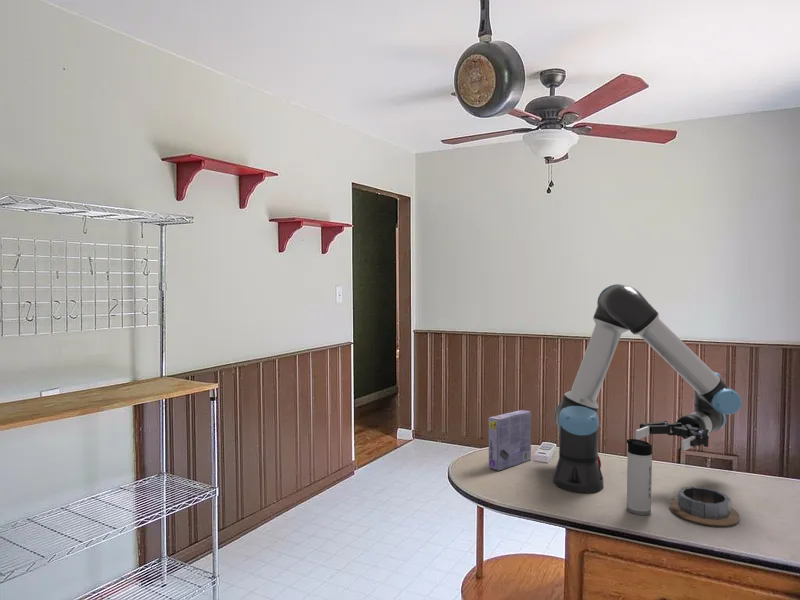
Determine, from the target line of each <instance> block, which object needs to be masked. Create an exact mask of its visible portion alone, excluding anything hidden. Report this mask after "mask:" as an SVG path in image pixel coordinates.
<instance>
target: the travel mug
mask: <svg viewBox="0 0 800 600" xmlns="http://www.w3.org/2000/svg"><path fill="white" fill-rule="evenodd" d="M626 444H627V469H626V470H627V472H626V476H627V477H626V510H627V511H628V512H629V513H632V514H634V515H637V516H647V515H650V514H651V513H652V483H653V482H652V481H653V480H652V477H653V475H652V474H653V473H652V472H653V451H652V450H653V446H652V444H651V443H649V442H648V441H645V440H641V439H639V440H637V439H636V438H630V439H626Z"/></svg>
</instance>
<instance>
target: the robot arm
mask: <svg viewBox="0 0 800 600" xmlns="http://www.w3.org/2000/svg"><path fill="white" fill-rule="evenodd" d="M596 305H597V307H596V309H595V311H594V315H593V316H592V320H593V322H594V323H595V326H594V328H593V331H592V334H591V336H590V339H589V341H588V344H587V347H586V350H585V352H584V355H583V358H582V360H581V363H580V366H579V368H578V370H577V373H576V375H575V379H574V381H573V384H572V387H571V390H569V391H566V392H565V393H564V395H563V397H562V400H561V402H560V404H558V405H557V407H556V409H555V411H554V423H555V426H556V428H557V430H558V433H559V434H558V435H559V436H558V438H559V439H558V441H559V448H558V450H559V451H558V461H557V463H556V465H555V470H554V472H553V475H552V477H553V479H552V483H553V484H554V485H555V486H557V487H558V488H560V489H561V490H565V491H569V492H574V493H581V494H582V493H583V494H586V493H589V494H590V493H596V492H600V491H601V490H603V488H604V477H603V474H602V471H601V468H600V467H599V464H598V456H599V428H600V427H599V426H600V421H599V415H598V413H597V412H598V411H599V410H598V409H599V404H598V402H597V399H598V396H599V394H600V391H601V388H602V386H603V384H604V380H605V378H606V376H607V373H608V370H609V368H610V365H611V364H612V360H613V357H614V355H615V352H616V349H617V348H618V344H619V342H620V340H621V337H622V335H623V333H626V332H628V331H630V332H631V333H632V335H638V336H639V337H640V338H642V340H644V342H646V344H647V345H649V346H650V347H651V348H652V349H653V350H654V351H655V353H657V354H658V355H659V356H660V357H661V358H662V359H663V360H664V361H665V362H666V363H667V364H668V366H670V367H671V368H672V369H673V370H675V372H676V373H677V374H678V375H679V376H680V377H681V378H682V379H683V380H684V381H685V382H686V383H688V385H690V386H691V388H693V390H694V391H693V392H694V394H693V395H694V412H692V413H688V414H686V415H683V416H680V417H679V418H678V420H677V421H675V422H674V423H671V422H670V423H668V421H667V420H662V421H656V422H645V423H640V424H639V428H638V429H636V430H635V439H637V440H641V439H643V438H646V437H649V436H650V435H668V436H677V437H681V438H682V440H681V451H687V450H689V449H691V448H694V447H695V448H696V447H700V446H703V447H705V448H709V438H710V434H712V433H713V432H716V431H719V430H720V429H722V428H723V427H724V426H725V425H726V422H727V417H726V415H733V414H734V415H735V414H736V413H737V412H739V410H741V407H742V402H743V401H742V397H741V396H740V395H739V394H738V392H736V390H734V389H733V388H731V387H730V386H728V384H727V383H725V381H723V379H722V375H721V374H720V373H718V372H716V371H713V370H712V369H711V368H710V367H709V366H708V365H707V364H706V363H705V361H703V360H702V359H701V358H700V357H699V356H698V355H697V354H696V353H695V352H694V351H692V349H691V348H690V347H689V346H687V344H686V343H684V341H682V340H681V338H680V337H678V336H677V334H675V332H674V331H672V330H671V329H670V328H669V326H668V325H666V324H665V323H664V322H663V321H662V320H661V319H660V315H659V314H660V313H659V312H658V311H657V310H656V309H655V308H654V307H653V306H652V305H651V303H649V301H648V300H647V299H646V298H645V297H644V295H643V294H642V293H641V292H640V291H639V290H638V289H636V288H634V287H632V286H629V285H625V284H619V283H618V284H616V283H615V284H612V285H608V286H607V287H605V288H604V289H602V291H601V292H600V294H599V296H598V298H597V303H596Z"/></svg>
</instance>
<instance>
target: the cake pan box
mask: <svg viewBox="0 0 800 600" xmlns="http://www.w3.org/2000/svg"><path fill="white" fill-rule="evenodd" d="M531 415H532V412H531V410H523V409H520V410H515V411H512V412H507V413H502V414H498V415H493V416H490V417H489V416H488V468H490V469H493V470H494V471H497V472H499V471H502V470H505V469H507V468H512V467H516V466H519V464H523V463H526V462H528V461H531V460H532V458H531V457H532V456H531V455H532V454H531V453H532V451H531V450H532V435H531V434H532V431H531V430H532V426H531V425H532V423H531V422H532V418H531V417H532V416H531Z"/></svg>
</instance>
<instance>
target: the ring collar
mask: <svg viewBox="0 0 800 600" xmlns="http://www.w3.org/2000/svg"><path fill="white" fill-rule="evenodd" d="M731 503H732V500H731V498H730V497H729V496H728V495H727V494H726V493H723V492H721V491H719V490H717V489H713V488H708V487H705V486H704V487H703V486H692V485H691V486H684V487H681V488H680V489H679V490H678V491H677V497H676V498H673V499H671V501H670V502H669V507H668V508H669V510H670V512H671V513H672V514H673V515H675V516H676V517H677V518H679V519H682V520H684V521H686V522H689V523H692V524H696V525H700V526H704V527H709V528H710V527H712V528H727V527H734V526H737V525H738V524H739V522H740V513H739V512H738V510H736V509H734V507H732V506H731Z"/></svg>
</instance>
